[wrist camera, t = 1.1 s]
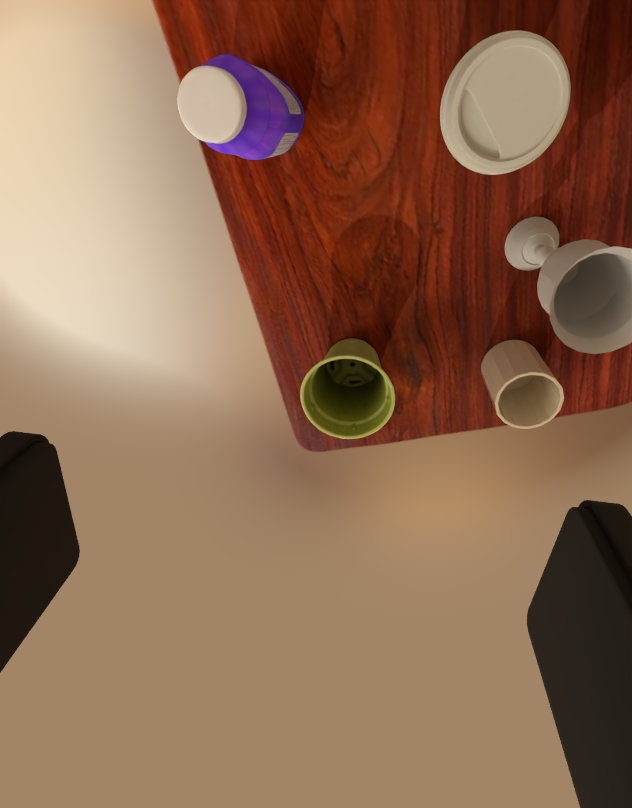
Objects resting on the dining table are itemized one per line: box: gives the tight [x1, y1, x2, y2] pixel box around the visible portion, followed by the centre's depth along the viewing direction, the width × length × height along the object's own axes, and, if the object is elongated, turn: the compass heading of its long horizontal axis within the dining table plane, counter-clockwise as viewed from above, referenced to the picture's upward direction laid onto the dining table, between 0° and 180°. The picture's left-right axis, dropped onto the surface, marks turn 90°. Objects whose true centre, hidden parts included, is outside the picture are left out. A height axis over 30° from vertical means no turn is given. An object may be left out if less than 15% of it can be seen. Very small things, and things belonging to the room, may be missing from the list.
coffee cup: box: [440, 31, 571, 175], centre depth 38 cm, size 8×8×12 cm
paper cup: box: [481, 340, 564, 429], centre depth 51 cm, size 6×6×8 cm
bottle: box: [177, 54, 304, 160], centre depth 37 cm, size 7×6×17 cm
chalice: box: [505, 217, 632, 354], centre depth 40 cm, size 7×7×18 cm
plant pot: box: [300, 338, 395, 439], centre depth 53 cm, size 9×9×9 cm
